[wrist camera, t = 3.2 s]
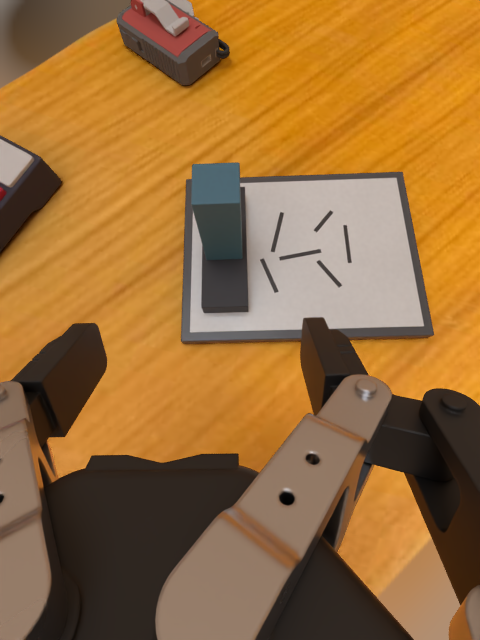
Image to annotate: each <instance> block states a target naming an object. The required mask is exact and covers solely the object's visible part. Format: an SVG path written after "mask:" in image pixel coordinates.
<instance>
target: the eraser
mask: <svg viewBox="0 0 480 640" xmlns="http://www.w3.org/2000/svg"><path fill="white" fill-rule="evenodd" d="M191 206H192V209H193V213H194V216H195V220H196V224H197V227H198V231H199V235H200V238H201V242H202V295H201V308H202V310H203V312H204V313H230V312H248V273H247V238H246V203H245V187H240V165H239V163H215V164H193V165H192V191H191Z"/></svg>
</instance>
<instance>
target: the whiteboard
mask: <svg viewBox="0 0 480 640" xmlns="http://www.w3.org/2000/svg"><path fill="white" fill-rule="evenodd" d="M240 187H245V203H246V238H247V273H248V312H230V313H204V312H203V310H202V308H201V295H202V242H201V238H200V235H199V231H198V227H197V224H196V220H195V216H194V213H193V209H192V206H191V191H192V179H187V180H186V202H185V234H184V265H183V296H182V327H181V342H182V343H183V344H200V343H240V342H281V341H301V337H302V323H303V318H309V317H323V318H324V319H325V321H326V323H327V325H328V328H329V330H335V329H338V330H339V331H341V332H342V333H343V334H345V335H346V336H347V337H348V339H349V340H361V339H401V338H428V337H430V336H433V335H434V332H433V327H432V322H431V317H430V312H429V306H428V301H427V296H426V291H425V286H424V281H423V275H422V270H421V265H420V260H419V255H418V250H417V244H416V239H415V234H414V229H413V224H412V219H411V214H410V208H409V203H408V198H407V193H406V188H405V183H404V177H403V172H386V173H357V174H329V175H300V176H271V177H243V178H240Z"/></svg>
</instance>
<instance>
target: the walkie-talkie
mask: <svg viewBox="0 0 480 640" xmlns="http://www.w3.org/2000/svg"><path fill="white" fill-rule="evenodd" d="M117 24H118V27H119V30H120V33H121V36H122V39H123V41H124V44H125V45H126V46H127V47H129V48H130V49H131V50H133V51H134V52H136V53H137V54H139V55H140V56H141V57H143V58H144V59H146V60H147V61H149V62H150V63H151V64H153V65H154V66H156V67H157V68H159V69H160V70H162V71H163V72H165V73H166V74H167V75H169V76H170V77H172V79H174V80H175V81H177V82H178V83H180V84H182V85H191V84H192V83H193V82H194V81H195V80H197V79H198V78H199V77H200V76H202V75H203V74H204V73H205V72H207V71H208V70H209V69H210V68H211V67H213V66H214V65H215V64H216V63H218V62H219V61H220V58H221V59H224V58H227V57H228V56H229V53H230V52H229V47H228V45H227V44H226V43H224V42H223V41H221V40H220V39H218V32H216V31H215V30H213V29H212V28H210V27H208V26H207V25H205V24H204V23H202V22H201V21H199V19H198V18H196V17H194V13H193V8H192V3H190V2H189V1H187V0H131V5H130V6H129V7H127V8H126V9H125V10H123V11H122V12H120V14H119V15H118V17H117ZM219 47H220V48H221V49H223V50H224V51H220V50H219Z"/></svg>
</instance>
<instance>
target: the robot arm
mask: <svg viewBox="0 0 480 640" xmlns="http://www.w3.org/2000/svg"><path fill="white" fill-rule="evenodd" d="M300 358H301V367H302V371H303V375H304V379H305V382H306V386H307V390H308V394H309V398H310V401H311V405H312V409H313V413H314V415H313V414H311V413H308V414H306V415H305V416H304V417H303V419H302V420H301V421H300V422H299V424H298V425H297V426H296V428H295V429H294V430H293V431H292V433H291V434H290V435H289V436H288V438H287V439H286V440H285V441H284V443H283V444H282V445H281V447H280V448H279V449H278V450H277V452H276V453H275V454H274V455H273V457H272V458H271V459H270V460H269V462H268V463H267V464H266V466H265V467H264V468H263V469H262V471H261V472H260V473H259V472H257V471H255V470H252V469H250V468H247V467H243V466H239V457H238V454H200V455H196V456H192V457H187V458H183V459H179V460H175V461H170V462H166V463H159V462H155V461H150V460H146V459H142V458H138V457H133V456H129V455H99V456H91V458H90V460H89V462H88V465H87V467H86V468H85V469H81V470H78V471H75V472H72V473H70V474H68V475H65V476H63V477H61V478H59V479H58V475H57V471H56V467H55V463H54V460H53V456H52V452H51V448H50V446H49V444H48V442H47V439H48V438H49V437H65V436H66V434H67V433H68V431H69V429H70V428H71V426H72V425H73V423H74V421H75V420H76V418H77V416H78V415H79V413H80V412H81V410H82V408H83V407H84V405H85V403H86V402H87V400H88V399H89V397H90V395H91V394H92V392H93V391H94V389H95V387H96V386H97V384H98V382H99V381H100V379H101V378H102V376H103V374H104V373H105V370H106V367H107V357H106V353H105V349H104V346H103V342H102V339H101V335H100V331H99V328H98V326H97V325H96V324H95V323H77V324H73V325H72V326H71V327H70V328H69V329H68V330H67V331H66V332H65V333H64V334H63V335H62V336H60V337H58V338H57V339H55V340H53V341H52V342H50V343H48V344H47V345H46V346H45V347H44V348H43V349H42V350H41V351H40V352H39V354H37V355H36V356H35V357H34V358H33V360H32V361H30V362H29V363H28V364H27V365H26V366H25V367H24V368H23V369H22V370H21V371H20V372H19V373H18V374H17V375H16V376H15V377H14V378H13V379H12V380H11V381H7V382H1V383H0V640H414V639H413V638H412V637H411V636H410V635H409V634H408V632H407V631H406V630H405V629H404V628H403V627H402V626H401V625H400V623H399V622H398V621H397V620H396V619H395V618H394V617H393V616H392V614H391V613H390V612H389V611H388V610H387V609H386V608H385V606H384V605H383V604H382V603H381V602H380V601H379V600H378V599H377V597H376V596H375V595H374V594H373V593H372V592H371V591H370V590H369V588H368V587H367V586H366V585H365V584H364V583H363V582H362V580H361V579H360V578H359V577H358V576H357V575H356V574H355V573H354V571H353V570H352V569H351V568H350V567H349V566H348V565H347V564H346V562H345V561H344V560H343V559H342V558H341V557H340V556H339V554H338V553H337V551H338V549H339V547H340V545H341V543H342V540H343V538H344V535H345V532H346V530H347V527H348V524H349V521H350V518H351V515H352V513H353V510H354V508H355V506H356V504H357V502H358V499H359V497H360V495H361V493H362V491H363V488H364V486H365V484H366V482H367V480H368V478H369V475H370V473H371V471H372V469H373V467H374V465H378V466H381V467H385V468H389V469H393V470H396V471H400V472H404V474H405V476H406V478H407V481H408V483H409V485H410V488H411V490H412V492H413V495H414V497H415V499H416V502H417V504H418V506H419V509H420V511H421V514H422V516H423V518H424V521H425V523H426V525H427V528H428V530H429V532H430V535H431V537H432V539H433V542H434V544H435V546H436V549H437V551H438V554H439V556H440V558H441V561H442V563H443V565H444V567H445V570H446V572H447V575H448V577H449V579H450V581H451V584H452V587H453V589H454V591H455V593H456V596H457V598H458V601H459V603H460V605H461V606H460V607H459V609H458V610H457V612H456V613H455V615H454V616H453V618H452V620H451V622H450V626H449V640H480V406H479V405H478V404H477V403H476V402H475V401H474V400H472V399H471V398H469V397H467V396H466V395H464V394H461V393H459V392H456V391H453V390H449V389H432V390H429V391H427V392H426V393H425V394H424V397H423V400H422V401H420V400H415V399H410V398H405V397H400V396H396V395H393V394H392V393H391V390H390V388H389V387H388V386H387V385H386V384H385V383H384V382H382V381H381V380H379V379H377V378H375V377H372V376H369V375H368V373H367V371H366V370H365V368H364V366H363V364H362V362H361V361H360V359H359V357H358V355H357V353H356V351H355V350H354V348H353V346H352V344H351V342H350V341H349V339H348V337H347V336H346V335H345V334H343V333H342V332H341V331H339V330H338V329H335V330H329V328H328V325H327V323H326V321H325V319H324V318H323V317H309V318H303V323H302V337H301V351H300Z"/></svg>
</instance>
